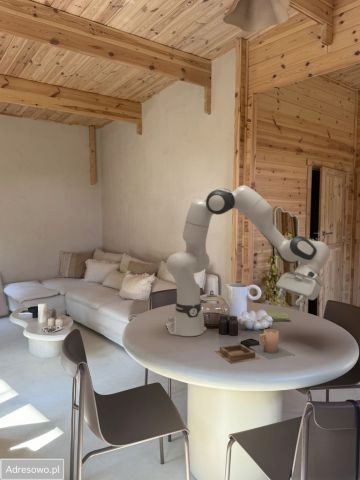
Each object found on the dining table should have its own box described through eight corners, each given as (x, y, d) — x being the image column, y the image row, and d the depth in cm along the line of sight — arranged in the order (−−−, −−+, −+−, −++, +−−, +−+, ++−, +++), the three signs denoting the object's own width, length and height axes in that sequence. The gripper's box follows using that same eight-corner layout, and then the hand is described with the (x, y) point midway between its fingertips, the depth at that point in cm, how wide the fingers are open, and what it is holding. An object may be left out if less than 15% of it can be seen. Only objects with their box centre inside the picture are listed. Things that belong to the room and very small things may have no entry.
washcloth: (292, 322, 193) (292, 316, 192) (259, 323, 191) (259, 317, 191) (283, 315, 206) (283, 309, 205) (252, 316, 205) (253, 310, 204)
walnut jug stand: (214, 355, 146) (214, 346, 146) (242, 350, 151) (242, 342, 151) (230, 367, 134) (230, 358, 134) (260, 362, 139) (260, 353, 139)
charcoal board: (248, 350, 152) (248, 346, 152) (272, 346, 156) (272, 343, 156) (268, 363, 139) (268, 359, 138) (294, 358, 143) (294, 354, 143)
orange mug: (255, 349, 148) (256, 330, 148) (272, 347, 151) (273, 328, 150) (263, 354, 143) (264, 334, 142) (281, 352, 146) (281, 332, 145)
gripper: (283, 266, 163) (266, 291, 160) (319, 275, 145) (301, 303, 142) (290, 274, 166) (274, 299, 163) (327, 284, 148) (309, 312, 145)
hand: (287, 301), depth 153 cm, fingers open, 8 cm apart
